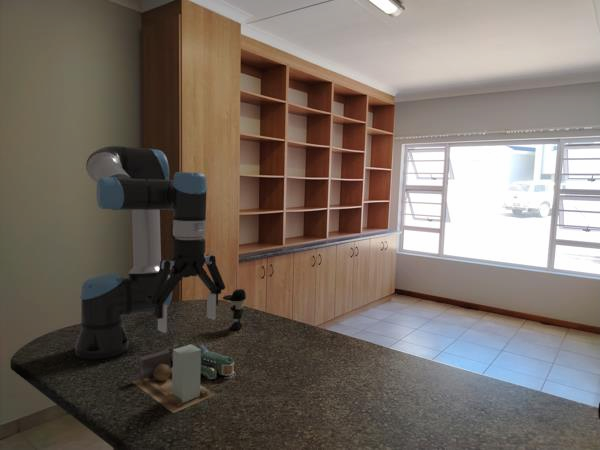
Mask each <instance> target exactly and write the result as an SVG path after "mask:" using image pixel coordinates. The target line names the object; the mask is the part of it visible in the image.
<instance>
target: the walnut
mask: <svg viewBox="0 0 600 450" xmlns="http://www.w3.org/2000/svg"><path fill="white" fill-rule="evenodd" d="M170 374H171V370H170V367H169V366H168V365H166V364H160V365H158V366H157V367H156V368H155V369H154V372H153V375H154V378H155V379H156V380H157V381H165V380H167V379H168V378H169V376H170Z"/></svg>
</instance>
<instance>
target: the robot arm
mask: <svg viewBox="0 0 600 450" xmlns="http://www.w3.org/2000/svg"><path fill="white" fill-rule="evenodd" d="M85 166H86V167H85V168H86V172H87V174H88V176H89V177H90V178H91V179H92V180H93V181H94V182H96V183H97V184H96V201H97V206H98V207H99V208H100V209H101V210H112V211H119V210H120V211H123V210H125V211H127V210H129V211H131V212H132V213H131V214H132V215H131V218H132V250H133V251H132V252H133V253H132V254H133V255H132V256H133V267H132V268H131V269H130V270H129V271H128V277H126V278H124V277H123V275H122V274H120V273H108V274H107V273H106V274H101V275H96V276H94V277H90V278H88V279H86V280H85V281H84V282H83V283H82V285H81V292H80V300H81V309H80V310H81V318H80V319H81V321H80V322H81V324H80V325H81V328H80V332H79V334H78V337H77V339H76V342H75V346H74V349H75V350H74V353H75V354H74V355H75V356H76V357H78V358H81V359H84V360H102V359H103V360H105V359H108V358H113V357H116V356H119V355H122V354H123V353H125V352H126V351H127V350H128V349H129V338H128V335H127V333H126V329H125V327H124V323H123V319H124V318H123V317H124V316H127V315H136V314H144V313H150V312H151V313H154V316H155V318H156V319H157V331H159V332H161V333H163V334H165V333H168V307H169V306H170V304H171V301H172V297H173V290H175V288H176V286H177V285H178V284H179V282H180V281H181V280H183V279H184V278H190V277H198V278H199V279H200V281H201V282H203V284H204V285H205V286H206V287H207V289H208V290H209V292H207V293H206V294H207V295H206V318H207V319H210V320H212V321H215V320H216V319H217V317H216V316H217V312H216V311H217V306H218V305H219V295H220V294H222V291H224V290H225V289H226V285H225V283H224V280H223V278H222V275H221V273H220V271H219V268H218V265H217V262H216V256H215V255H212V254H206V239H205V238H204V237H206V228H207V227H206V225H207V221H206V219H207V216H206V215H207V191H208V187H207V186H208V185H207V175H205V174H204V173H201V172H191V171H189V172H186V171H182V172H181V171H177V172H175V173H174V175H173V179H170V167H169V162H168V159H167V156H166V154H165V153H164V152H163V151H162V150H159V149H153V148H151V147H150V148H149V147H147V148H145V147H133V146H132V147H130V146H119V145H111V146H105V147H102V148H99V149H96V150H95V151H93V152H92V153H91V154H90V155H89V156H88V158H87V159H86V164H85ZM161 210H162V211H163V210H164V211H167V210H168V211H173V212H172V236H173V237H174V238H173V239H172V255H173V257H172V260H165V259H162V249H161V248H162V247H161V245H162V243H161V213H160V211H161ZM205 254H206V255H205ZM205 264H206V268H207V269H208V272H209V274H210V276H209V274H208V272H207V271H206V270H205V269H204V265H205ZM172 267H173V270H172ZM170 271H171V272H170Z"/></svg>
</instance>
